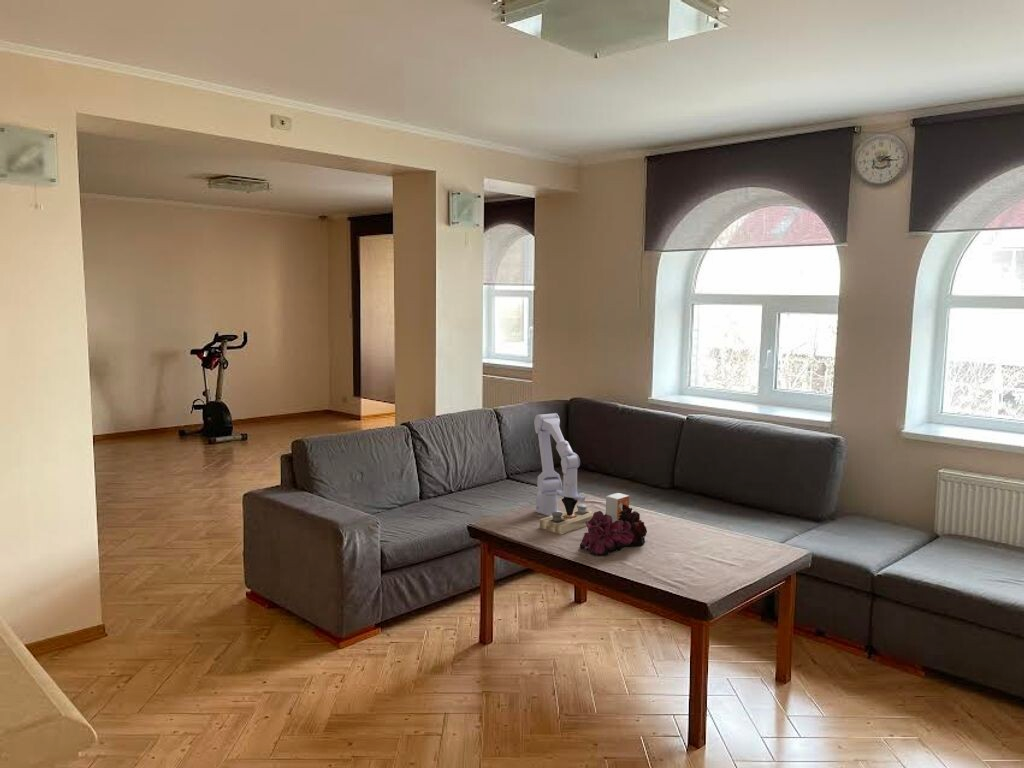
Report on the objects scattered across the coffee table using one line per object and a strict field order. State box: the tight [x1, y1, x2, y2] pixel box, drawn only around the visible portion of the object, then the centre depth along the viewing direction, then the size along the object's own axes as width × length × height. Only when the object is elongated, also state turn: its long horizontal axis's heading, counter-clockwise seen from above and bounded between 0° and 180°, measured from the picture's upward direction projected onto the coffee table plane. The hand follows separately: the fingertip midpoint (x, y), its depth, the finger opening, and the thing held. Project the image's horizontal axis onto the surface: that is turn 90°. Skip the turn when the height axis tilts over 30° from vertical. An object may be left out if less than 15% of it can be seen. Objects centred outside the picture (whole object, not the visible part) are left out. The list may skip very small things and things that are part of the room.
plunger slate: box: [576, 503, 588, 515], centre depth 317 cm, size 4×4×4 cm
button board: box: [539, 507, 596, 535], centre depth 311 cm, size 12×24×4 cm, turn 135°
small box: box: [605, 492, 630, 523], centre depth 309 cm, size 8×6×13 cm
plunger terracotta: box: [564, 513, 575, 519], centre depth 311 cm, size 4×4×4 cm
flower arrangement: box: [579, 504, 648, 557], centre depth 286 cm, size 31×20×15 cm, turn 139°
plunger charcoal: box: [552, 512, 562, 523], centre depth 305 cm, size 4×4×4 cm
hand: (569, 514), depth 311 cm, fingers closed, pressing on plunger terracotta
